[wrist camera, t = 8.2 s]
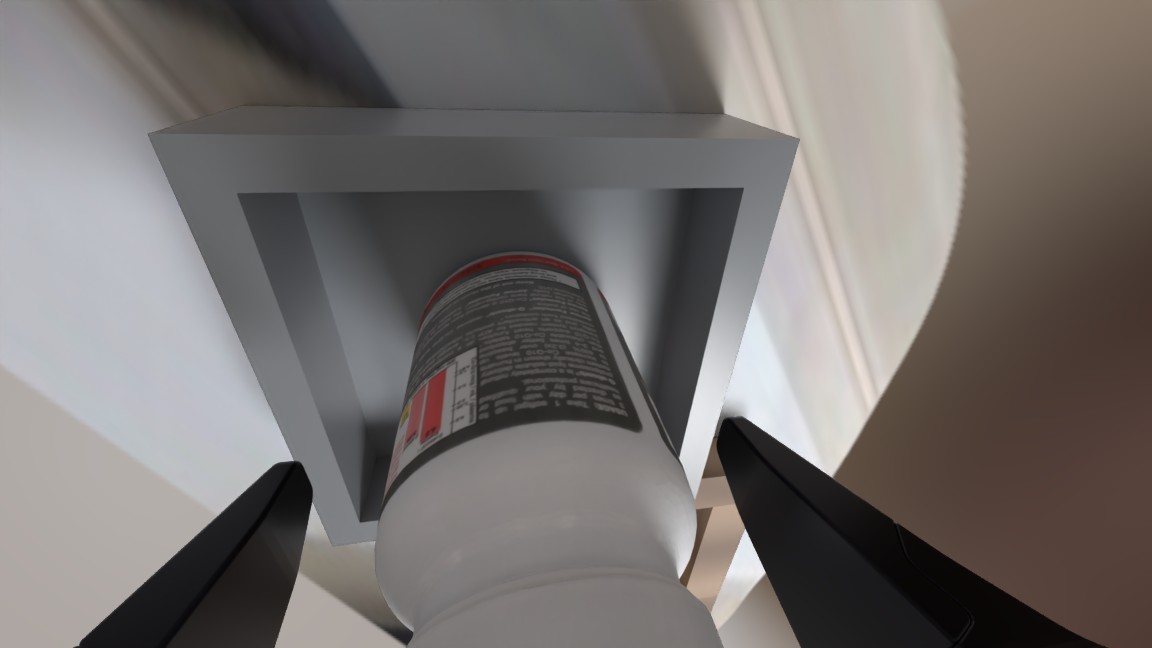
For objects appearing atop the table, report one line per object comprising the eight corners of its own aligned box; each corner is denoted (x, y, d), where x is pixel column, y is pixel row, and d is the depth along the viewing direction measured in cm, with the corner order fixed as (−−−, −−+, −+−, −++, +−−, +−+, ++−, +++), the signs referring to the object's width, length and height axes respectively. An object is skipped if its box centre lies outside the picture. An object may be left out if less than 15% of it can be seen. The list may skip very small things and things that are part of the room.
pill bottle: (384, 351, 13) (220, 861, 5) (495, 202, 12) (517, 623, 3) (536, 423, 16) (588, 835, 8) (646, 311, 14) (866, 696, 6)
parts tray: (662, 426, 19) (695, 498, 16) (358, 457, 17) (332, 546, 14) (725, 114, 12) (800, 138, 9) (241, 105, 10) (146, 133, 7)
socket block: (696, 577, 26) (710, 614, 25) (489, 611, 24) (490, 652, 23) (745, 434, 20) (768, 470, 18) (469, 464, 18) (468, 507, 16)
